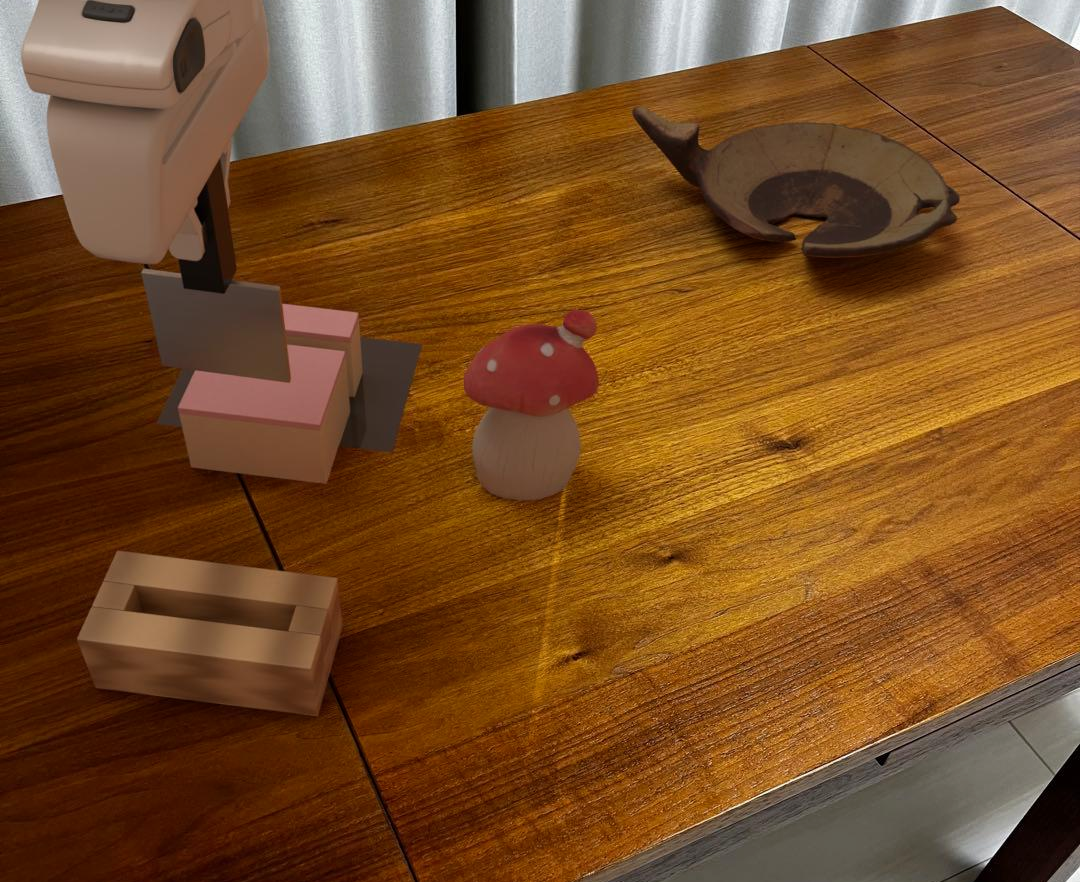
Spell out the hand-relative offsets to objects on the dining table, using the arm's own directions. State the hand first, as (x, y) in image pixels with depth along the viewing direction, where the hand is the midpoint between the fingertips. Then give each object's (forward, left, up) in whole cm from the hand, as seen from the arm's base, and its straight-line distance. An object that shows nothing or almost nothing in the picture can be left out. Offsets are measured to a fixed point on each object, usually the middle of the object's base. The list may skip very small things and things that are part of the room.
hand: (201, 232), depth 66 cm
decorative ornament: (+18, +8, -25) cm, 32 cm away
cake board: (-1, +12, -25) cm, 28 cm away
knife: (0, 0, -10) cm, 10 cm away
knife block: (+1, -12, -25) cm, 27 cm away
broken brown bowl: (+39, +48, -25) cm, 67 cm away
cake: (-1, +8, -24) cm, 25 cm away
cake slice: (-1, +16, -24) cm, 29 cm away
